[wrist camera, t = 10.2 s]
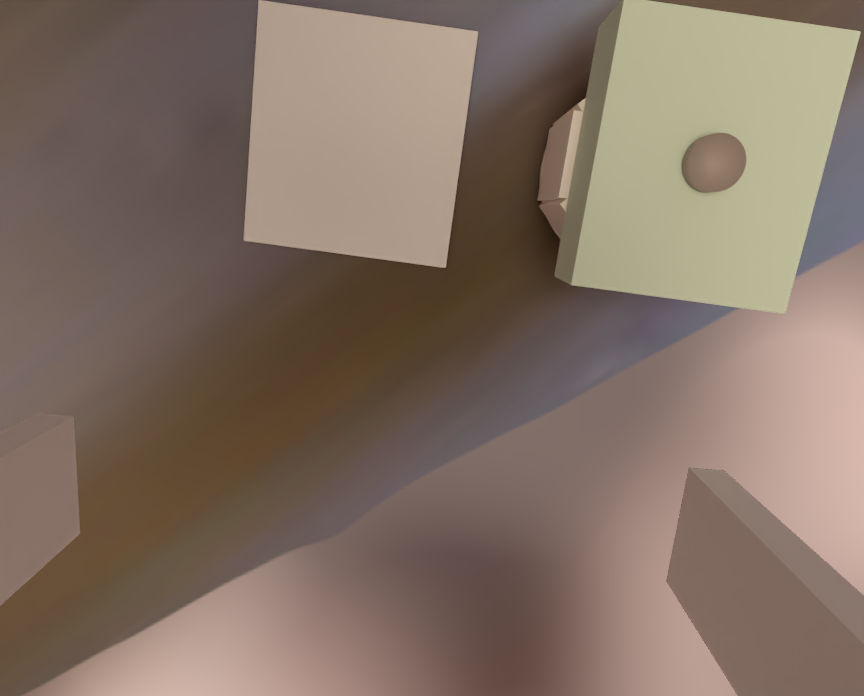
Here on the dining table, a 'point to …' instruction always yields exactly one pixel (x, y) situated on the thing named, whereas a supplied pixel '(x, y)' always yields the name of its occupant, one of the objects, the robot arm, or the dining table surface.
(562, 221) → the bowl
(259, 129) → the mat
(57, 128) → the dining table surface
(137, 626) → the dining table surface
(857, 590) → the robot arm
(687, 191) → the lid
